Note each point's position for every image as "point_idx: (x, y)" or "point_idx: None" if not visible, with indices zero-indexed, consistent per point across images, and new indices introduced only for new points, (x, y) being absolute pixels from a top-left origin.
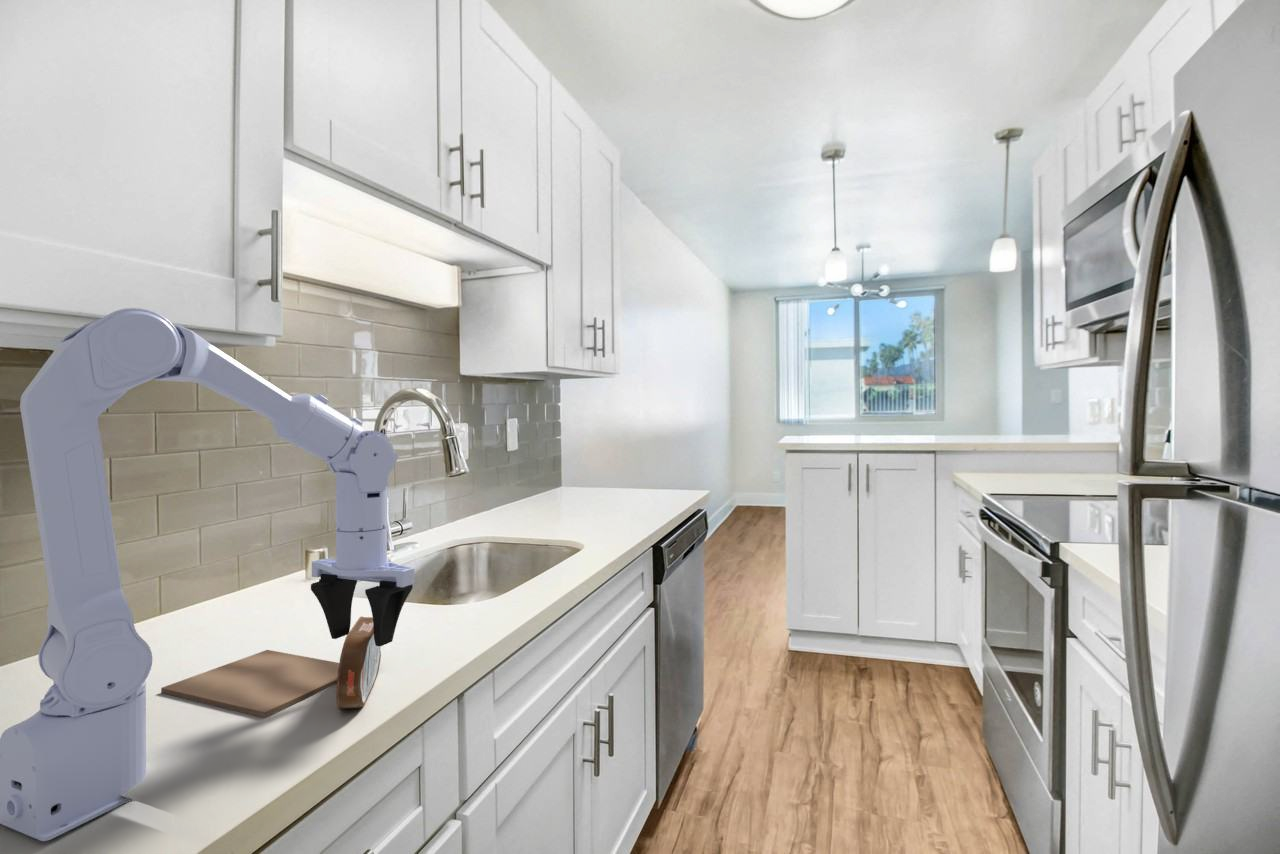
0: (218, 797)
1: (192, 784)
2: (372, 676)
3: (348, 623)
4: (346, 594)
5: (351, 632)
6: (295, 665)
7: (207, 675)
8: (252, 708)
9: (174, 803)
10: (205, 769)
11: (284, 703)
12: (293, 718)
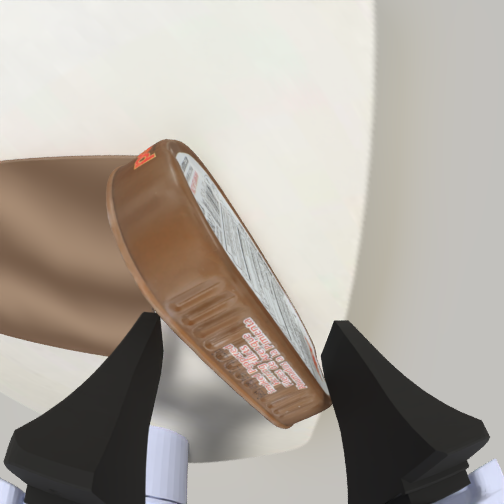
0: (270, 433)
1: (230, 431)
2: (246, 239)
3: (153, 339)
4: (126, 439)
5: (267, 412)
6: (10, 209)
7: None
8: None
9: (243, 441)
10: (216, 422)
11: None
12: None
